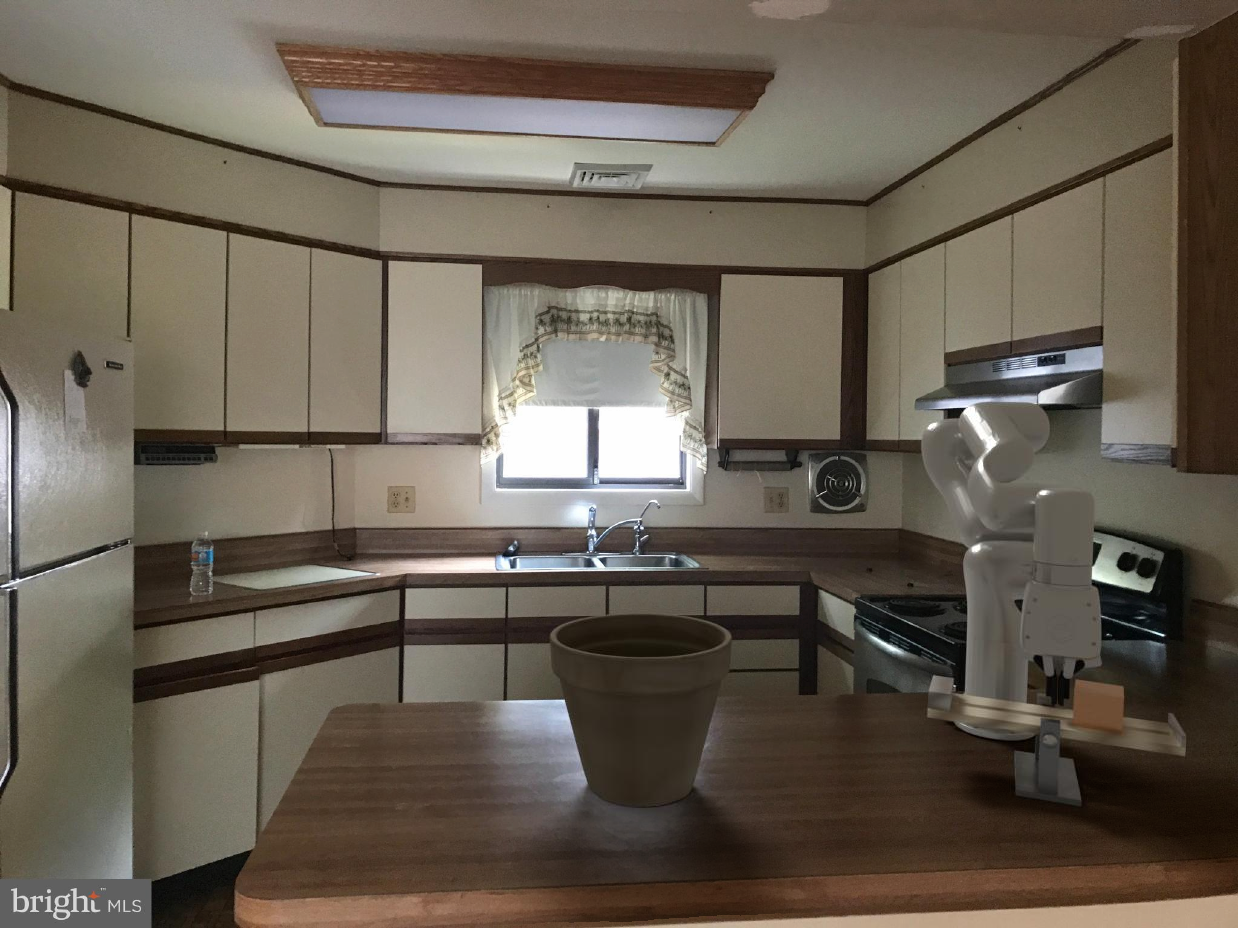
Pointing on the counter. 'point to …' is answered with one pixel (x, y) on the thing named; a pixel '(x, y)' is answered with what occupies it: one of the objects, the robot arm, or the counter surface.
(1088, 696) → the block
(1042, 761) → the pivot stand
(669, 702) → the plant pot
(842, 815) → the counter surface
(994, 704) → the beam
